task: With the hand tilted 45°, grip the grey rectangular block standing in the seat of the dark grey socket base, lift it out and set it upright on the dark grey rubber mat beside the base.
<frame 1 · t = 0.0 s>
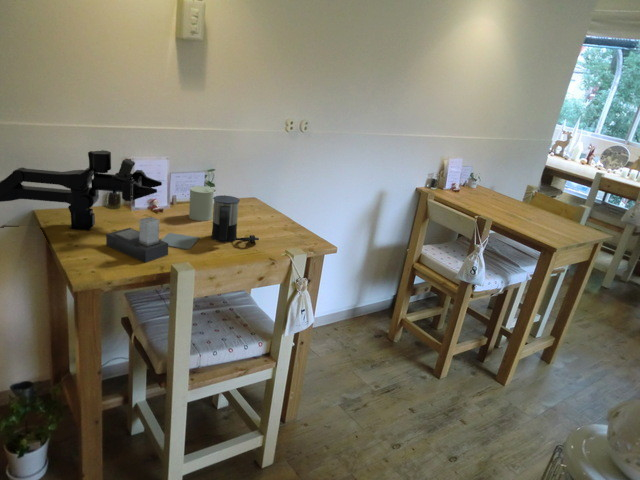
hand: (159, 187, 166), 17 cm above the table, tool horizontal, fingers open, 9 cm apart
can: (200, 217, 193), on the table
milk frother: (234, 240, 175), on the table
grey rectangular block: (149, 249, 153), point 2 cm above the table, touching dark grey socket base
mat: (178, 241, 167), on the table
dark grey socket base: (137, 250, 156), on the table
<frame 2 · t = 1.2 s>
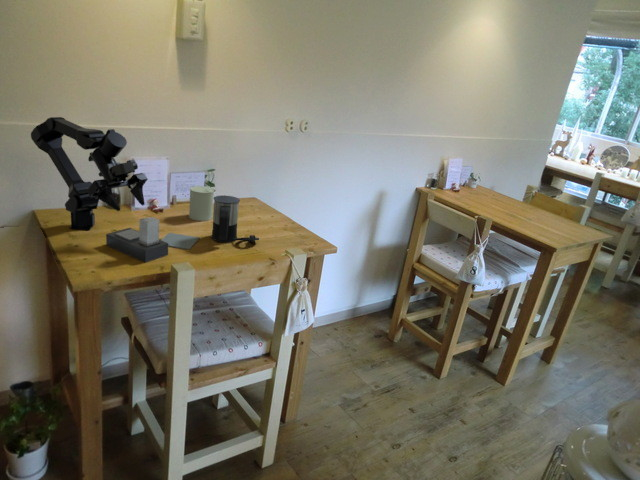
hand: (131, 207, 152), 14 cm above the table, tool tilted 45°, fingers open, 9 cm apart
nothing on the table moved.
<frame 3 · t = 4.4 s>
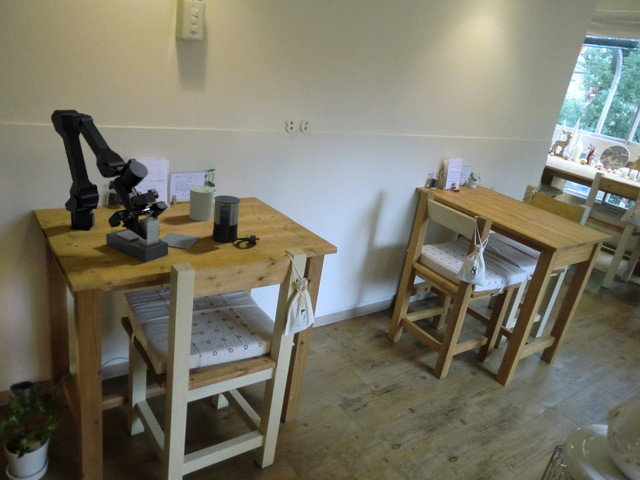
hand: (152, 237, 151), 7 cm above the table, tool tilted 45°, fingers closed on grey rectangular block, 4 cm apart
grey rectangular block: (149, 249, 153), point 2 cm above the table, touching gripper, dark grey socket base
everything else where it was.
when the fingers open (6 cm above the table, at t = 9.4 s): grey rectangular block drops 1 cm, resting on mat.
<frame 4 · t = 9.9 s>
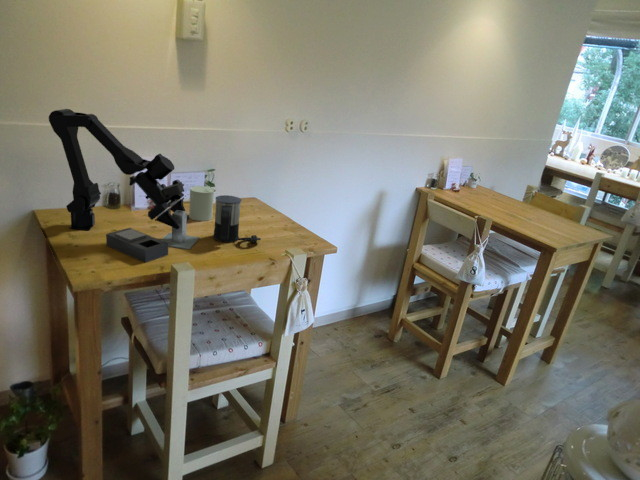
hand: (183, 224, 165), 7 cm above the table, tool tilted 45°, fingers open, 9 cm apart
grey rectangular block: (179, 240, 167), resting on mat
everything else where it was.
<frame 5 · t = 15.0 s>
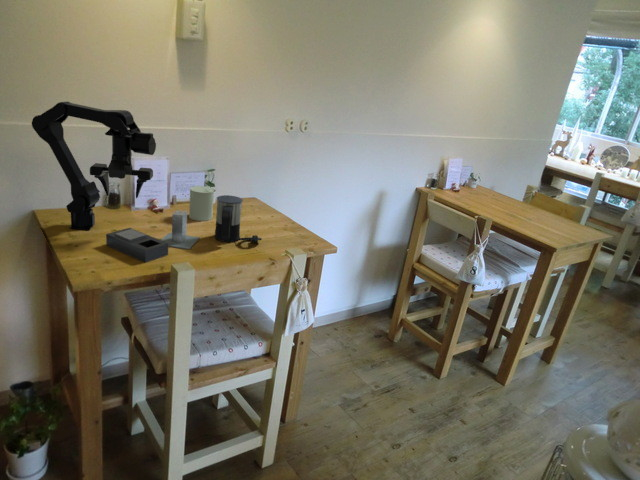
hand: (122, 196, 163), 13 cm above the table, tool pointing down, fingers open, 9 cm apart
at the end: grey rectangular block inside the target area on the mat (0.0 cm from its centre), point 0.4 cm above the mat's base; grey rectangular block tilted 0°; grey rectangular block touching mat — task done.
